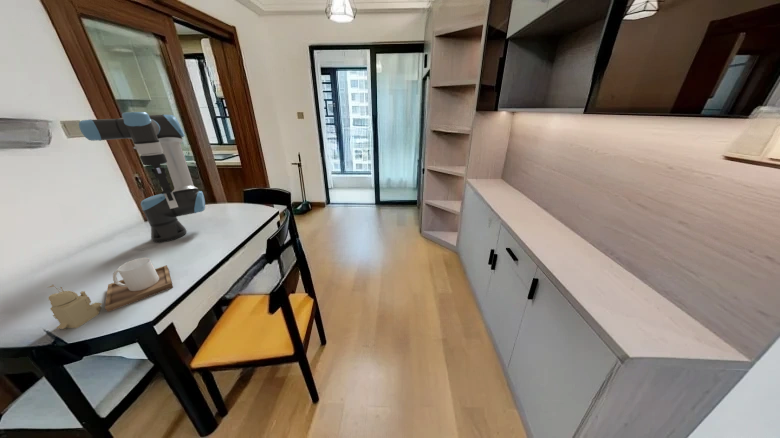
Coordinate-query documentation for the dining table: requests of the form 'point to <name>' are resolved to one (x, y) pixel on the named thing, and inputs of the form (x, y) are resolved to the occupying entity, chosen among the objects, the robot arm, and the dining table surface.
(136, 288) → the mug
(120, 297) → the tray
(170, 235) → the robot arm
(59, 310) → the robot
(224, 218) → the dining table surface
